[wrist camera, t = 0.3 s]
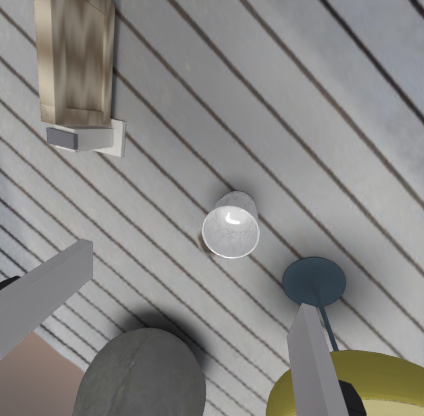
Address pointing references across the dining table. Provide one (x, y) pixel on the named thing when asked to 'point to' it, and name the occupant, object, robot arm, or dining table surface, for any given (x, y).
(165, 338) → the ceramic pot
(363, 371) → the cocktail glass
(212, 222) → the white cup
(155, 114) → the dining table surface
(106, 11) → the gate
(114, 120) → the latch post
